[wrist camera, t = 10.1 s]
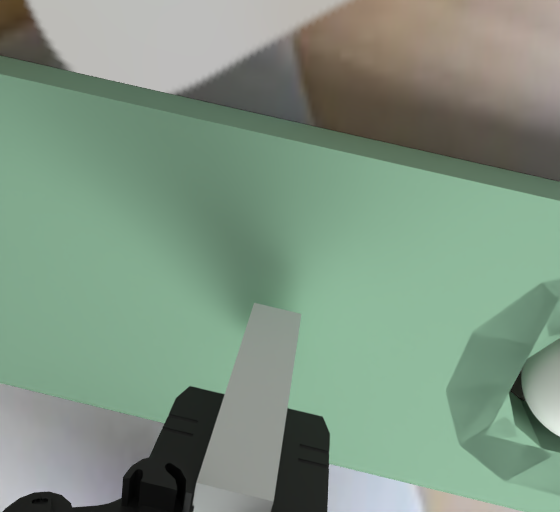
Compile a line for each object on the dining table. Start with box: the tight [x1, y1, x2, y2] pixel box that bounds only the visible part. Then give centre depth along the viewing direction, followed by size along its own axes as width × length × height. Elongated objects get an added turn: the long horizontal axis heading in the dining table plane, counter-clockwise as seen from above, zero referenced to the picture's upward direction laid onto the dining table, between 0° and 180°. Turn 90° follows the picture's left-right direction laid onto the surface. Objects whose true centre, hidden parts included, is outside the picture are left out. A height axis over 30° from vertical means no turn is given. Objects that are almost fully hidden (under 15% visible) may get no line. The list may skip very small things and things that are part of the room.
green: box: [0, 56, 560, 512], centre depth 17 cm, size 30×12×4 cm, turn 79°
